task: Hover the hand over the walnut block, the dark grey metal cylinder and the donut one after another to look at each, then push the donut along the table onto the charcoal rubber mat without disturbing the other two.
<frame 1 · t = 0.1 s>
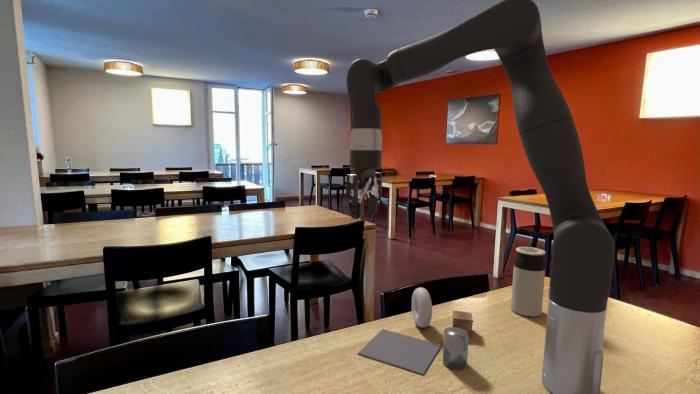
hand: (364, 216, 89), 29 cm above the table, tool pointing down, fingers open, 8 cm apart
grey cylinder: (454, 363, 79), on the table
donut: (420, 326, 96), on the table
walnut block: (461, 332, 93), on the table
travel mug: (525, 312, 105), on the table
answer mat: (400, 350, 84), on the table
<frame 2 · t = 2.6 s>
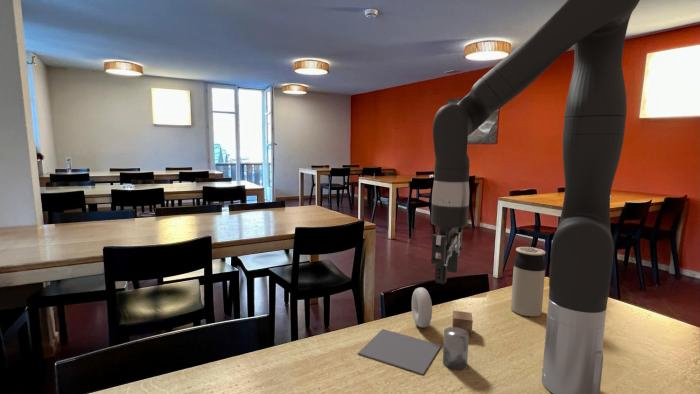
hand: (446, 277, 79), 18 cm above the table, tool pointing down, fingers open, 8 cm apart
nothing on the table moved.
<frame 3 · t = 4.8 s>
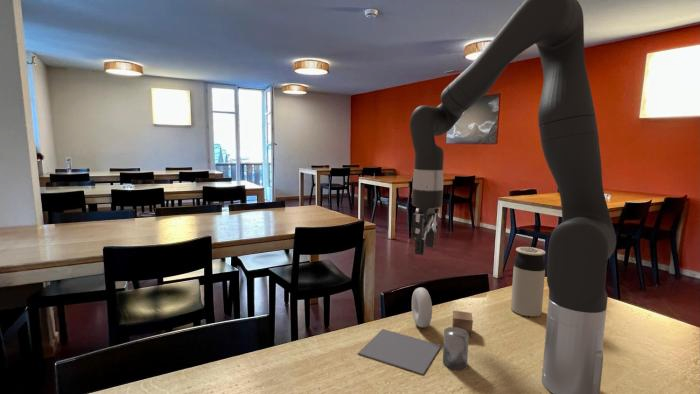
hand: (424, 250, 95), 20 cm above the table, tool pointing down, fingers open, 8 cm apart
nothing on the table moved.
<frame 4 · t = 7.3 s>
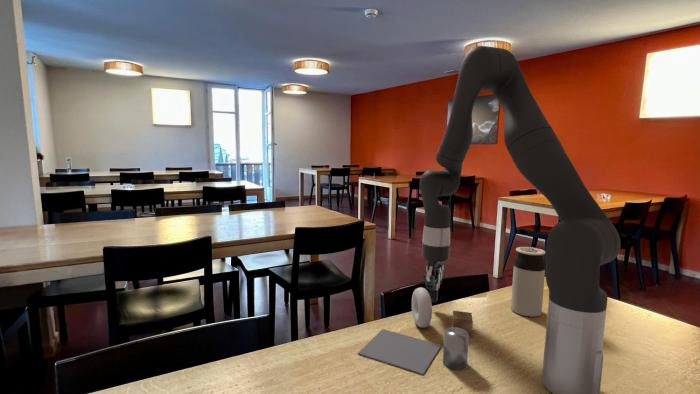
hand: (433, 301, 105), 3 cm above the table, tool pointing down, fingers closed
nothing on the table moved.
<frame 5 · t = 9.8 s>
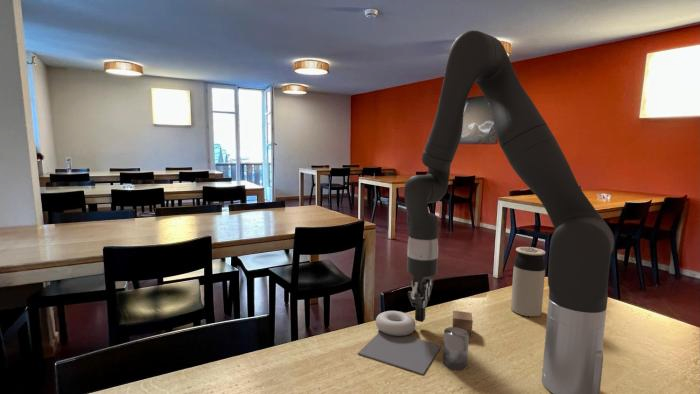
hand: (420, 320, 94), 2 cm above the table, tool pointing down, fingers closed
donut: (412, 320, 95), point 2 cm above the table, touching gripper
everything else where it was.
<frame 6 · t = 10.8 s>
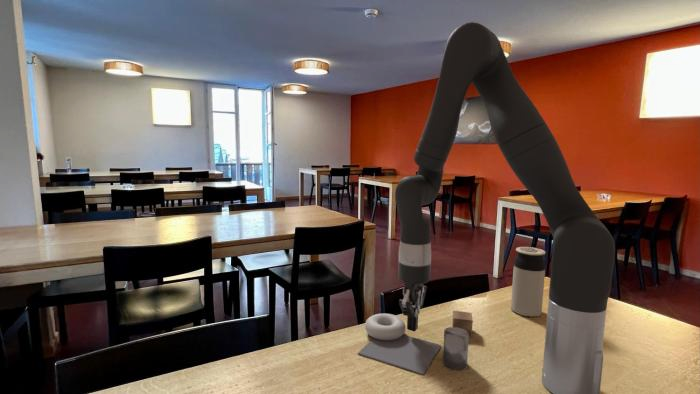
hand: (412, 329, 89), 2 cm above the table, tool pointing down, fingers closed
donut: (406, 326, 91), point 2 cm above the table, touching gripper
everything else where it was.
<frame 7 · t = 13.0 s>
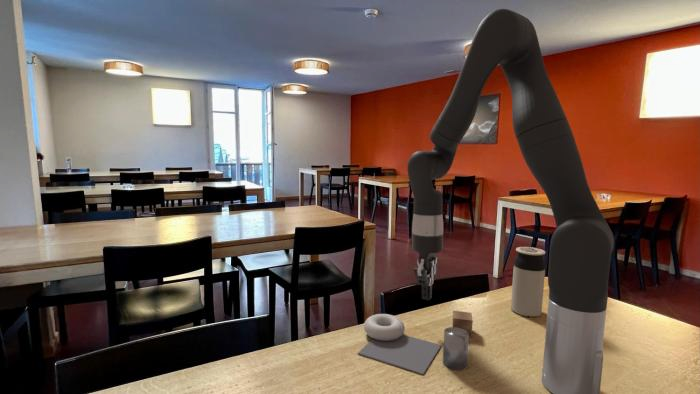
hand: (426, 298, 93), 8 cm above the table, tool pointing down, fingers closed
donut: (405, 328, 90), point 2 cm above the table, touching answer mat
everything else where it was.
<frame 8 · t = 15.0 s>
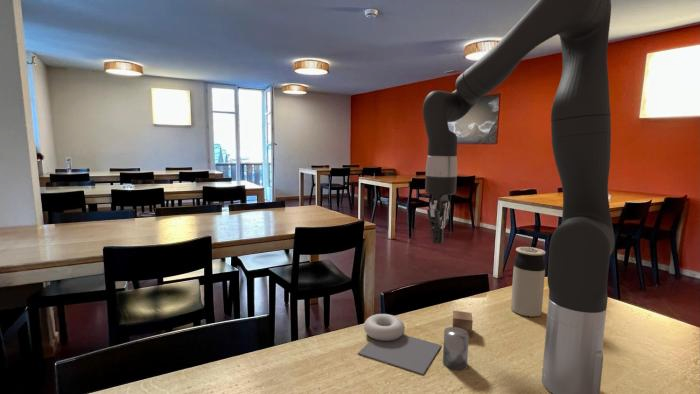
hand: (438, 242, 93), 22 cm above the table, tool pointing down, fingers closed
nothing on the table moved.
at the end: donut inside the target area (7.0 cm from its centre), point 2.1 cm above the table; walnut block moved 0.1 cm from its start; grey cylinder moved 0.0 cm from its start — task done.
